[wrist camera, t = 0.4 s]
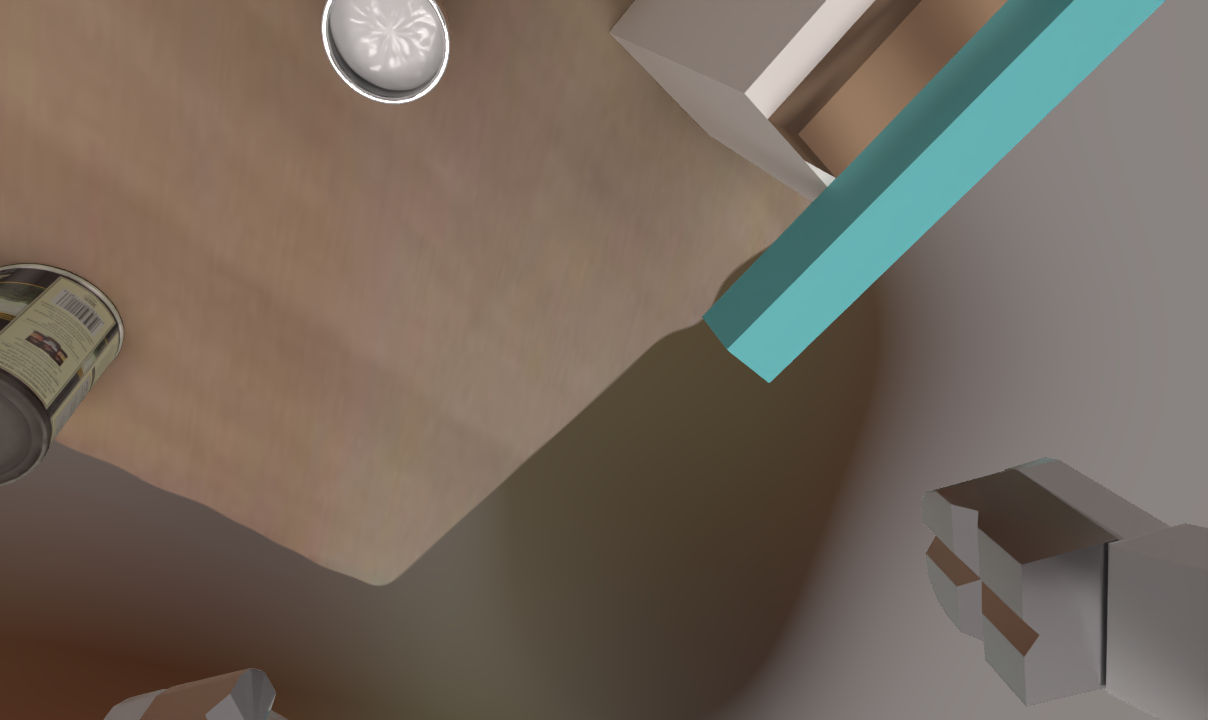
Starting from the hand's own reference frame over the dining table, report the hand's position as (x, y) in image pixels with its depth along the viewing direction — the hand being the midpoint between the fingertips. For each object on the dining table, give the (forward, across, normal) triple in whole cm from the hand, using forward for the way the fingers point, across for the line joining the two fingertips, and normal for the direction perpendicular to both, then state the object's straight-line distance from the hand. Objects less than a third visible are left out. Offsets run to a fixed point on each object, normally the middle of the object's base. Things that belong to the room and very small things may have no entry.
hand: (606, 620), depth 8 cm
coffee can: (+49, +40, -1) cm, 64 cm away
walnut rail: (+25, -17, -6) cm, 31 cm away
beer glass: (+48, +7, -16) cm, 51 cm away
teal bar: (+27, -18, 0) cm, 32 cm away
